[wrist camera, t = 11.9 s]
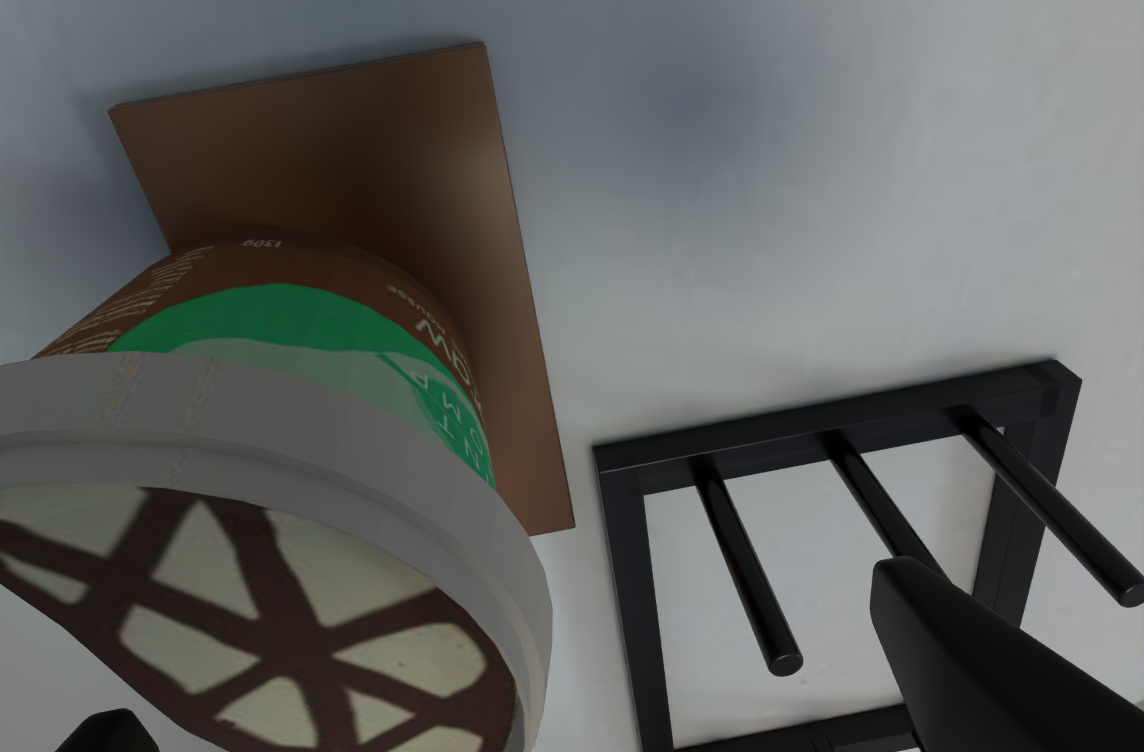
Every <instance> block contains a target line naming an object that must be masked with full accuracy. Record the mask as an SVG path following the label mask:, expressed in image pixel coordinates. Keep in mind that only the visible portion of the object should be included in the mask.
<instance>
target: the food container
mask: <svg viewBox="0 0 1144 752" xmlns="http://www.w3.org/2000/svg"><path fill="white" fill-rule="evenodd" d="M0 584H1V585H3V586H4V587H6V588H7V589H9V590H10V591H11V592H13V593H14V594H16V595H17V596H19V597H20V598H21V599H23V600H24V601H26V602H27V603H29V604H30V605H32V606H33V607H35V608H36V609H37V610H39V611H40V612H42V613H43V614H45V615H46V616H48V617H49V618H50V619H52V620H53V621H55V622H56V623H58V624H59V625H61V626H62V627H63V628H64V629H66V630H67V631H68V632H69V633H70V634H71V635H72V636H73V637H75V638H76V639H77V640H78V641H79V642H80V643H81V644H83V645H84V646H85V647H86V648H87V649H88V650H90V651H91V652H92V653H93V654H94V655H95V656H96V657H97V658H99V659H100V660H101V661H102V662H103V663H104V664H105V665H107V666H108V667H109V668H110V669H111V670H112V671H113V672H114V673H116V674H117V675H118V676H119V677H120V678H121V679H122V680H124V681H125V682H126V683H127V684H128V685H129V686H130V687H132V688H133V689H134V690H135V691H136V692H137V693H139V694H140V695H141V696H142V697H143V698H144V699H146V700H147V701H148V702H149V703H151V704H152V705H153V706H155V707H156V708H157V709H158V710H159V711H161V712H162V713H163V714H164V715H166V716H167V717H169V718H170V719H171V720H172V721H173V722H174V723H176V724H177V725H178V726H180V727H182V728H183V729H184V730H186V731H188V732H189V733H191V734H193V735H195V736H198V737H200V738H202V739H204V740H206V741H208V742H211V743H213V744H215V745H217V746H219V747H221V748H223V749H225V750H227V751H229V752H532V750H533V748H534V746H535V743H536V739H537V735H538V731H539V727H540V723H541V719H542V715H543V711H544V704H545V696H546V688H547V680H548V672H549V665H550V657H551V649H552V615H553V607H552V603H551V598H550V594H549V589H548V585H547V580H546V576H545V571H544V569H543V567H542V564H541V562H540V560H539V558H538V556H537V554H536V551H535V549H534V547H533V545H532V543H531V541H530V538H529V536H528V534H527V532H526V531H525V529H524V528H523V527H522V525H521V524H520V523H519V521H518V520H517V519H516V517H515V516H514V514H513V513H512V512H511V510H510V509H509V508H508V506H507V505H506V504H505V502H504V501H503V499H502V498H501V497H500V495H499V494H498V493H497V492H496V487H495V481H494V476H493V470H492V464H491V459H490V453H489V447H488V442H487V436H486V430H485V425H484V419H483V413H482V407H481V402H480V396H479V390H478V385H477V379H476V373H475V368H474V366H473V363H472V360H471V358H470V355H469V352H468V350H467V347H466V345H465V342H464V339H463V337H462V334H461V332H460V330H459V329H458V327H457V326H456V324H455V323H454V321H453V319H452V318H451V316H450V315H449V313H448V312H447V310H446V309H445V308H444V307H443V306H442V305H441V304H440V303H439V301H438V300H437V299H436V298H435V297H434V296H433V295H432V294H431V293H430V292H429V291H428V290H427V288H425V287H424V286H423V285H421V284H420V283H419V282H418V281H416V280H415V279H414V278H413V277H411V276H410V275H409V274H407V273H406V272H405V271H404V270H402V269H400V268H399V267H397V266H395V265H393V264H392V263H390V262H388V261H386V260H385V259H383V258H381V257H379V256H378V255H376V254H374V253H371V252H369V251H366V250H363V249H361V248H358V247H356V246H353V245H351V244H348V243H346V242H342V241H338V240H334V239H330V238H325V237H321V236H317V235H313V234H304V233H294V232H284V231H264V232H243V233H238V234H232V235H227V236H222V237H217V238H211V239H208V240H205V241H203V242H200V243H197V244H194V245H191V246H188V247H186V248H183V249H180V250H178V251H176V252H175V253H173V254H171V255H169V256H167V257H166V258H164V259H162V260H160V261H159V262H157V263H155V264H153V265H151V266H150V267H149V268H147V269H146V270H145V271H143V272H142V273H141V274H140V275H138V276H137V277H136V278H134V279H133V280H132V281H130V282H129V283H128V284H127V285H125V286H124V287H123V288H121V289H120V290H119V291H118V292H116V293H115V294H114V295H112V296H111V297H110V298H109V299H107V300H106V301H105V302H103V303H102V304H101V305H100V306H98V307H97V308H96V309H94V310H93V311H92V312H91V313H89V314H88V315H87V316H85V317H84V318H83V319H82V320H80V321H79V322H78V323H76V324H75V325H74V326H73V327H71V328H70V329H69V330H67V331H66V332H65V333H64V334H62V335H61V336H60V337H58V338H57V339H56V340H55V341H53V342H52V343H51V344H49V345H48V346H47V347H46V348H44V349H43V350H42V351H40V352H39V353H38V354H36V355H35V356H34V357H33V358H31V359H30V360H26V361H21V362H15V363H10V364H4V365H0Z"/></svg>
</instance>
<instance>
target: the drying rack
mask: <svg viewBox="0 0 1144 752" xmlns="http://www.w3.org/2000/svg"><path fill="white" fill-rule="evenodd" d="M1081 384H1082V379H1081V378H1079V377H1078V376H1077V375H1076V374H1074V373H1073V372H1072V371H1070V370H1069V369H1068V368H1067V367H1065V366H1064V365H1063V364H1061V363H1060V362H1059V361H1058V360H1051V361H1046V362H1041V363H1035V364H1030V365H1025V366H1020V367H1014V368H1009V369H1004V370H999V371H993V372H988V373H983V374H978V375H972V376H967V377H962V378H956V379H951V380H946V381H941V382H935V383H930V384H925V385H920V386H914V387H909V388H904V389H898V390H893V391H888V392H883V393H877V394H872V395H867V396H862V397H856V398H851V399H846V400H840V401H835V402H830V403H825V404H819V405H814V406H809V407H803V408H798V409H793V410H788V411H782V412H777V413H772V414H767V415H761V416H756V417H751V418H745V419H740V420H735V421H730V422H724V423H719V424H714V425H709V426H703V427H698V428H693V429H687V430H682V431H677V432H672V433H666V434H661V435H656V436H651V437H645V438H640V439H635V440H629V441H624V442H619V443H614V444H609V445H603V446H598V447H594V448H593V456H594V462H595V469H596V475H597V481H598V487H599V494H600V500H601V506H602V512H603V518H604V525H605V531H606V537H607V543H608V550H609V556H610V562H611V568H612V575H613V581H614V587H615V593H616V600H617V606H618V612H619V618H620V624H621V631H622V637H623V643H624V649H625V656H626V662H627V668H628V674H629V681H630V687H631V693H632V699H633V705H634V712H635V718H636V724H637V730H638V737H639V743H640V749H641V752H897V751H902V750H907V749H912V748H917V747H918V748H919V750H920V751H921V752H926V750H925V748H924V746H923V744H922V741H921V739H920V737H919V734H918V732H917V730H916V728H915V725H914V723H913V720H912V718H911V716H910V713H909V711H908V708H907V706H906V705H901V706H896V707H891V708H886V709H881V710H876V711H871V712H866V713H861V714H856V715H851V716H846V717H841V718H836V719H831V720H826V721H821V722H816V723H811V724H806V725H802V726H797V727H792V728H787V729H782V730H777V731H772V732H767V733H762V734H757V735H752V736H747V737H742V738H737V739H732V740H727V741H722V742H717V743H712V744H707V745H702V746H697V747H692V748H688V749H683V750H678V751H674V746H673V737H672V729H671V721H670V713H669V704H668V696H667V688H666V679H665V671H664V663H663V655H662V646H661V638H660V630H659V622H658V613H657V605H656V597H655V588H654V580H653V572H652V564H651V555H650V547H649V539H648V530H647V522H646V514H645V506H644V497H643V495H648V494H654V493H659V492H664V491H669V490H674V489H680V488H685V487H690V486H695V487H696V489H697V492H698V494H699V497H700V499H701V502H702V504H703V507H704V509H705V512H706V514H707V517H708V519H709V522H710V524H711V527H712V529H713V532H714V534H715V537H716V539H717V542H718V544H719V547H720V549H721V552H722V554H723V557H724V559H725V562H726V564H727V567H728V569H729V572H730V574H731V577H732V579H733V582H734V584H735V587H736V589H737V592H738V594H739V597H740V599H741V602H742V604H743V607H744V609H745V612H746V614H747V617H748V619H749V622H750V624H751V627H752V629H753V632H754V634H755V637H756V639H757V642H758V644H759V647H760V649H761V652H762V654H763V657H764V659H765V662H766V664H767V667H768V669H769V671H770V672H771V673H772V674H773V675H775V676H779V677H784V676H789V675H792V674H794V673H796V672H797V671H798V670H799V669H800V668H801V667H802V665H803V656H802V654H801V652H800V649H799V647H798V645H797V643H796V641H795V638H794V636H793V634H792V632H791V629H790V627H789V625H788V623H787V621H786V618H785V616H784V614H783V612H782V610H781V607H780V605H779V603H778V601H777V598H776V596H775V594H774V592H773V590H772V587H771V585H770V583H769V581H768V578H767V576H766V574H765V572H764V570H763V567H762V565H761V563H760V561H759V559H758V556H757V554H756V552H755V550H754V547H753V545H752V543H751V541H750V539H749V536H748V534H747V532H746V530H745V527H744V525H743V523H742V521H741V519H740V516H739V514H738V512H737V510H736V508H735V505H734V503H733V501H732V499H731V496H730V494H729V492H728V490H727V488H726V485H725V483H724V481H723V480H727V479H732V478H737V477H742V476H747V475H753V474H758V473H763V472H768V471H774V470H779V469H784V468H789V467H794V466H800V465H805V464H810V463H815V462H820V461H826V460H830V462H831V463H832V465H833V466H834V468H835V469H836V471H837V472H838V474H839V476H840V477H841V479H842V480H843V482H844V483H845V485H846V486H847V488H848V489H849V491H850V492H851V494H852V495H853V497H854V498H855V500H856V502H857V503H858V505H859V506H860V508H861V509H862V511H863V512H864V514H865V515H866V517H867V518H868V520H869V521H870V523H871V524H872V526H873V527H874V529H875V531H876V532H877V534H878V535H879V537H880V538H881V540H882V541H883V543H884V544H885V546H886V547H887V549H888V550H889V552H890V553H891V555H892V557H893V558H895V557H900V556H909V557H912V558H914V559H916V560H918V561H919V562H921V563H922V564H924V565H925V566H927V567H928V568H930V569H931V570H933V571H934V572H936V573H937V574H939V575H940V576H942V577H943V578H945V579H946V580H948V581H949V582H951V581H950V580H949V578H948V577H947V575H946V574H945V573H944V571H943V570H942V568H941V567H940V566H939V564H938V563H937V561H936V560H935V559H934V557H933V556H932V554H931V553H930V552H929V550H928V549H927V547H926V546H925V545H924V543H923V542H922V541H921V539H920V538H919V536H918V535H917V534H916V532H915V531H914V529H913V528H912V527H911V525H910V524H909V522H908V521H907V520H906V518H905V517H904V515H903V514H902V513H901V511H900V510H899V508H898V507H897V506H896V504H895V503H894V501H893V500H892V499H891V497H890V496H889V494H888V493H887V492H886V490H885V489H884V487H883V486H882V485H881V483H880V482H879V480H878V479H877V478H876V476H875V475H874V473H873V472H872V471H871V469H870V468H869V466H868V465H867V464H866V462H865V461H864V459H863V458H862V457H861V455H860V454H862V453H867V452H873V451H878V450H883V449H888V448H893V447H899V446H904V445H909V444H914V443H920V442H925V441H930V440H935V439H940V438H946V437H951V436H956V435H962V436H963V437H964V438H965V439H966V440H967V441H968V442H969V443H970V444H971V445H972V447H973V448H974V449H975V450H976V451H977V452H978V453H979V454H980V455H981V456H982V457H983V458H984V459H985V461H986V462H987V463H988V464H989V465H990V466H991V467H992V468H993V469H994V470H995V471H996V472H997V478H996V483H995V488H994V493H993V498H992V504H991V509H990V514H989V519H988V524H987V529H986V534H985V539H984V544H983V549H982V554H981V559H980V564H979V569H978V574H977V579H976V584H975V589H974V594H973V598H975V599H976V600H978V601H979V602H981V603H982V604H984V605H985V606H987V607H988V608H990V609H991V610H993V611H994V612H996V613H997V614H999V615H1000V616H1002V617H1003V618H1005V619H1006V620H1008V621H1009V622H1011V623H1012V624H1014V625H1015V626H1017V627H1018V628H1020V625H1021V621H1022V617H1023V613H1024V609H1025V605H1026V601H1027V597H1028V593H1029V589H1030V585H1031V581H1032V578H1033V574H1034V570H1035V566H1036V562H1037V558H1038V554H1039V550H1040V546H1041V542H1042V538H1043V534H1044V530H1045V526H1047V527H1048V528H1049V529H1050V530H1051V532H1052V533H1053V534H1054V535H1055V536H1056V537H1057V538H1058V539H1059V540H1060V541H1061V542H1062V543H1063V544H1064V546H1065V547H1066V548H1067V549H1068V550H1069V551H1070V552H1071V553H1072V554H1073V555H1074V556H1075V557H1076V558H1077V560H1078V561H1079V562H1080V563H1081V564H1082V565H1083V566H1084V567H1085V568H1086V569H1087V570H1088V571H1089V572H1090V574H1091V575H1092V576H1093V577H1094V578H1095V579H1096V580H1097V581H1098V582H1099V583H1100V584H1101V585H1102V586H1103V587H1104V589H1105V590H1106V591H1107V592H1108V593H1109V594H1110V595H1111V596H1112V597H1113V598H1114V599H1115V600H1116V601H1117V603H1118V604H1119V605H1121V606H1123V607H1126V608H1131V607H1135V606H1138V605H1140V604H1142V603H1144V576H1143V575H1142V574H1141V573H1140V572H1139V571H1138V570H1137V569H1136V568H1135V567H1134V566H1133V565H1132V564H1131V563H1130V562H1129V561H1128V560H1127V559H1126V558H1125V557H1124V556H1123V555H1122V554H1121V553H1120V552H1119V551H1118V550H1117V549H1116V548H1115V547H1114V546H1113V545H1112V544H1111V543H1110V542H1109V541H1108V540H1107V539H1106V538H1105V537H1104V536H1103V535H1102V534H1101V533H1100V532H1099V531H1098V530H1097V529H1096V528H1095V527H1094V526H1093V525H1092V524H1091V523H1090V522H1089V521H1088V520H1087V519H1086V518H1085V517H1084V516H1083V515H1082V514H1081V513H1080V512H1079V511H1078V510H1077V509H1076V508H1075V507H1074V506H1073V505H1072V504H1071V503H1070V502H1069V501H1068V500H1067V499H1066V498H1065V497H1064V496H1063V495H1062V494H1061V493H1060V492H1059V491H1058V490H1057V489H1056V488H1055V487H1056V483H1057V479H1058V475H1059V471H1060V467H1061V463H1062V459H1063V455H1064V451H1065V447H1066V444H1067V440H1068V436H1069V432H1070V428H1071V424H1072V420H1073V416H1074V412H1075V408H1076V404H1077V400H1078V396H1079V392H1080V388H1081ZM1003 426H1007V428H1006V433H1005V437H1004V436H1003V435H1002V434H1001V433H1000V432H999V431H998V430H997V429H996V428H998V427H1003ZM951 583H952V582H951Z"/></svg>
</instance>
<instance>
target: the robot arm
mask: <svg viewBox="0 0 1144 752" xmlns="http://www.w3.org/2000/svg"><path fill="white" fill-rule="evenodd" d="M870 614H871V619H872V622H873V625H874V628H875V631H876V633H877V635H878V638H879V640H880V643H881V645H882V648H883V650H884V652H885V655H886V657H887V660H888V662H889V665H890V667H891V669H892V672H893V674H894V677H895V679H896V682H897V684H898V686H899V689H900V691H901V694H902V696H903V699H904V701H905V703H906V706H907V708H908V711H909V713H910V716H911V718H912V720H913V723H914V725H915V728H916V730H917V732H918V734H919V737H920V739H921V741H922V744H923V746H924V748H925V750H926V752H1144V711H1142V710H1141V709H1139V708H1138V707H1136V706H1135V705H1133V704H1132V703H1130V702H1129V701H1127V700H1126V699H1124V698H1123V697H1121V696H1120V695H1118V694H1117V693H1115V692H1114V691H1113V690H1111V689H1110V688H1108V687H1107V686H1105V685H1104V684H1102V683H1101V682H1099V681H1098V680H1096V679H1095V678H1093V677H1092V676H1090V675H1089V674H1087V673H1086V672H1084V671H1083V670H1081V669H1080V668H1078V667H1077V666H1075V665H1074V664H1072V663H1071V662H1069V661H1068V660H1066V659H1065V658H1063V657H1062V656H1060V655H1059V654H1057V653H1056V652H1054V651H1053V650H1051V649H1050V648H1048V647H1047V646H1045V645H1044V644H1042V643H1041V642H1039V641H1038V640H1036V639H1035V638H1033V637H1032V636H1030V635H1029V634H1027V633H1026V632H1024V631H1023V630H1021V629H1020V628H1018V627H1017V626H1015V625H1014V624H1012V623H1011V622H1009V621H1008V620H1006V619H1005V618H1003V617H1002V616H1000V615H999V614H997V613H996V612H994V611H993V610H991V609H990V608H988V607H987V606H985V605H984V604H982V603H981V602H979V601H978V600H976V599H975V598H973V597H972V596H970V595H969V594H967V593H966V592H964V591H963V590H961V589H960V588H958V587H957V586H955V585H954V584H952V583H951V582H949V581H948V580H946V579H945V578H943V577H942V576H940V575H939V574H937V573H936V572H934V571H933V570H931V569H930V568H928V567H927V566H925V565H924V564H922V563H921V562H919V561H918V560H916V559H914V558H912V557H909V556H900V557H895V558H890V559H885V560H880V561H878V562H877V563H876V564H875V566H874V569H873V577H872V587H871V598H870ZM55 752H160V751H159V748H158V746H157V744H156V743H155V741H154V740H153V739H152V737H151V736H150V735H149V733H148V732H147V731H146V729H145V728H144V726H143V725H142V724H141V722H140V721H139V719H138V718H137V717H136V716H135V714H134V713H133V712H132V711H130V710H128V709H126V708H125V709H124V708H122V709H116V710H111V711H106V712H100V713H97V714H94V715H91V716H90V717H88V718H87V719H85V720H84V721H83V722H82V723H81V724H80V725H79V726H78V727H77V728H76V730H75V731H74V732H73V733H72V734H71V735H70V736H69V737H68V738H67V739H66V740H65V741H64V742H63V743H62V744H61V746H60V747H59V748H58V749H57V750H56V751H55Z"/></svg>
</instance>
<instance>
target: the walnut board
mask: <svg viewBox="0 0 1144 752" xmlns="http://www.w3.org/2000/svg"><path fill="white" fill-rule="evenodd" d="M108 114H109V116H110V118H111V120H112V123H113V125H114V127H115V129H116V131H117V134H118V136H119V138H120V140H121V143H122V145H123V147H124V149H125V151H126V154H127V156H128V158H129V160H130V162H131V165H132V167H133V169H134V171H135V174H136V176H137V178H138V180H139V182H140V185H141V187H142V189H143V191H144V193H145V196H146V198H147V200H148V202H149V205H150V207H151V209H152V211H153V213H154V216H155V218H156V220H157V222H158V224H159V227H160V229H161V231H162V233H163V236H164V238H165V240H166V242H167V244H168V247H169V249H170V251H171V253H172V254H173V253H175V252H176V251H178V250H180V249H183V248H186V247H188V246H191V245H194V244H197V243H200V242H203V241H205V240H208V239H211V238H217V237H222V236H227V235H232V234H238V233H243V232H264V231H284V232H294V233H304V234H313V235H317V236H321V237H325V238H330V239H334V240H338V241H342V242H346V243H348V244H351V245H353V246H356V247H358V248H361V249H363V250H366V251H369V252H371V253H374V254H376V255H378V256H379V257H381V258H383V259H385V260H386V261H388V262H390V263H392V264H393V265H395V266H397V267H399V268H400V269H402V270H404V271H405V272H406V273H407V274H409V275H410V276H411V277H413V278H414V279H415V280H416V281H418V282H419V283H420V284H421V285H423V286H424V287H425V288H427V290H428V291H429V292H430V293H431V294H432V295H433V296H434V297H435V298H436V299H437V300H438V301H439V303H440V304H441V305H442V306H443V307H444V308H445V309H446V310H447V312H448V313H449V315H450V316H451V318H452V319H453V321H454V323H455V324H456V326H457V327H458V329H459V330H460V332H461V334H462V337H463V339H464V342H465V345H466V347H467V350H468V352H469V355H470V358H471V360H472V363H473V366H474V368H475V373H476V379H477V385H478V390H479V396H480V402H481V407H482V413H483V419H484V425H485V430H486V436H487V442H488V447H489V453H490V459H491V464H492V470H493V476H494V481H495V487H496V492H497V493H498V494H499V495H500V497H501V498H502V499H503V501H504V502H505V504H506V505H507V506H508V508H509V509H510V510H511V512H512V513H513V514H514V516H515V517H516V519H517V520H518V521H519V523H520V524H521V525H522V527H523V528H524V529H525V531H526V532H527V534H528V536H529V537H530V536H535V535H540V534H546V533H551V532H556V531H561V530H566V529H572V528H575V526H576V525H575V520H574V514H573V509H572V504H571V498H570V493H569V488H568V482H567V477H566V472H565V466H564V461H563V456H562V450H561V445H560V440H559V435H558V429H557V424H556V419H555V413H554V408H553V403H552V397H551V392H550V387H549V381H548V376H547V371H546V365H545V360H544V355H543V349H542V344H541V339H540V333H539V328H538V323H537V317H536V312H535V307H534V301H533V296H532V291H531V285H530V280H529V275H528V269H527V264H526V259H525V253H524V248H523V243H522V237H521V232H520V227H519V221H518V216H517V211H516V205H515V200H514V195H513V189H512V184H511V179H510V173H509V168H508V163H507V158H506V152H505V147H504V142H503V136H502V131H501V126H500V120H499V115H498V110H497V104H496V99H495V94H494V88H493V83H492V78H491V72H490V67H489V62H488V56H487V51H486V46H485V43H484V42H477V43H472V44H466V45H460V46H454V47H449V48H443V49H437V50H431V51H425V52H420V53H414V54H408V55H402V56H397V57H391V58H385V59H379V60H374V61H368V62H362V63H356V64H350V65H345V66H339V67H333V68H327V69H322V70H316V71H310V72H304V73H299V74H293V75H287V76H281V77H275V78H270V79H264V80H258V81H252V82H247V83H241V84H235V85H229V86H224V87H218V88H212V89H206V90H200V91H195V92H189V93H183V94H177V95H172V96H166V97H160V98H154V99H149V100H143V101H137V102H131V103H125V104H120V105H116V106H114V107H112V108H111V109H109V110H108Z"/></svg>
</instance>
